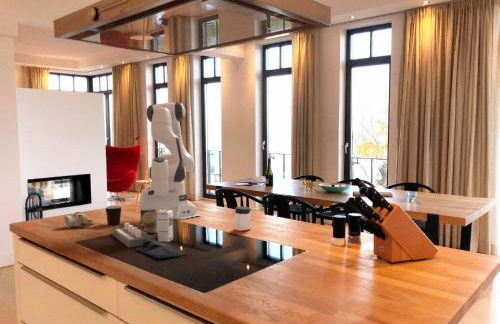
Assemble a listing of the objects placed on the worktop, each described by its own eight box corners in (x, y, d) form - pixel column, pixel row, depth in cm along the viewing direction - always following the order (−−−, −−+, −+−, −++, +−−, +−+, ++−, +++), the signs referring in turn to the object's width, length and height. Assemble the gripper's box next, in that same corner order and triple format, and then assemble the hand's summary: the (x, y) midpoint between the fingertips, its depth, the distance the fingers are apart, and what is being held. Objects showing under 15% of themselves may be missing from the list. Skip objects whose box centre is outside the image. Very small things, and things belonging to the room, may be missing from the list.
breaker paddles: (127, 228, 211) (127, 222, 210) (141, 237, 194) (140, 230, 194) (124, 229, 210) (124, 223, 209) (137, 237, 193) (137, 231, 193)
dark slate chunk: (154, 263, 168) (154, 251, 168) (133, 250, 185) (133, 239, 185) (187, 256, 177) (187, 245, 177) (164, 244, 195) (164, 234, 194)
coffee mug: (118, 226, 228) (118, 208, 227) (103, 226, 228) (103, 208, 227) (125, 221, 240) (125, 204, 239) (110, 221, 240) (110, 204, 239)
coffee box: (139, 232, 215) (139, 202, 214) (142, 229, 222) (142, 200, 220) (157, 232, 216) (157, 202, 214) (159, 229, 222) (159, 200, 221)
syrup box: (168, 242, 198) (168, 212, 197) (157, 241, 199) (157, 211, 198) (173, 239, 203) (173, 209, 202) (162, 238, 205) (162, 209, 204)
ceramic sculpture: (64, 210, 227) (93, 209, 234) (63, 225, 228) (92, 225, 234) (64, 213, 217) (94, 213, 224) (63, 230, 218) (93, 229, 224)
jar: (253, 230, 224) (253, 208, 223) (241, 232, 219) (242, 209, 218) (243, 227, 231) (243, 205, 230) (231, 229, 226) (231, 207, 225)
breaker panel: (135, 232, 216) (135, 225, 216) (153, 243, 195) (153, 236, 195) (112, 234, 210) (112, 228, 209) (128, 247, 188) (128, 240, 188)
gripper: (176, 188, 217) (176, 214, 218) (138, 190, 205) (138, 218, 206) (181, 189, 212) (181, 216, 212) (142, 192, 200) (142, 220, 201)
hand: (159, 217), depth 209 cm, fingers closed
